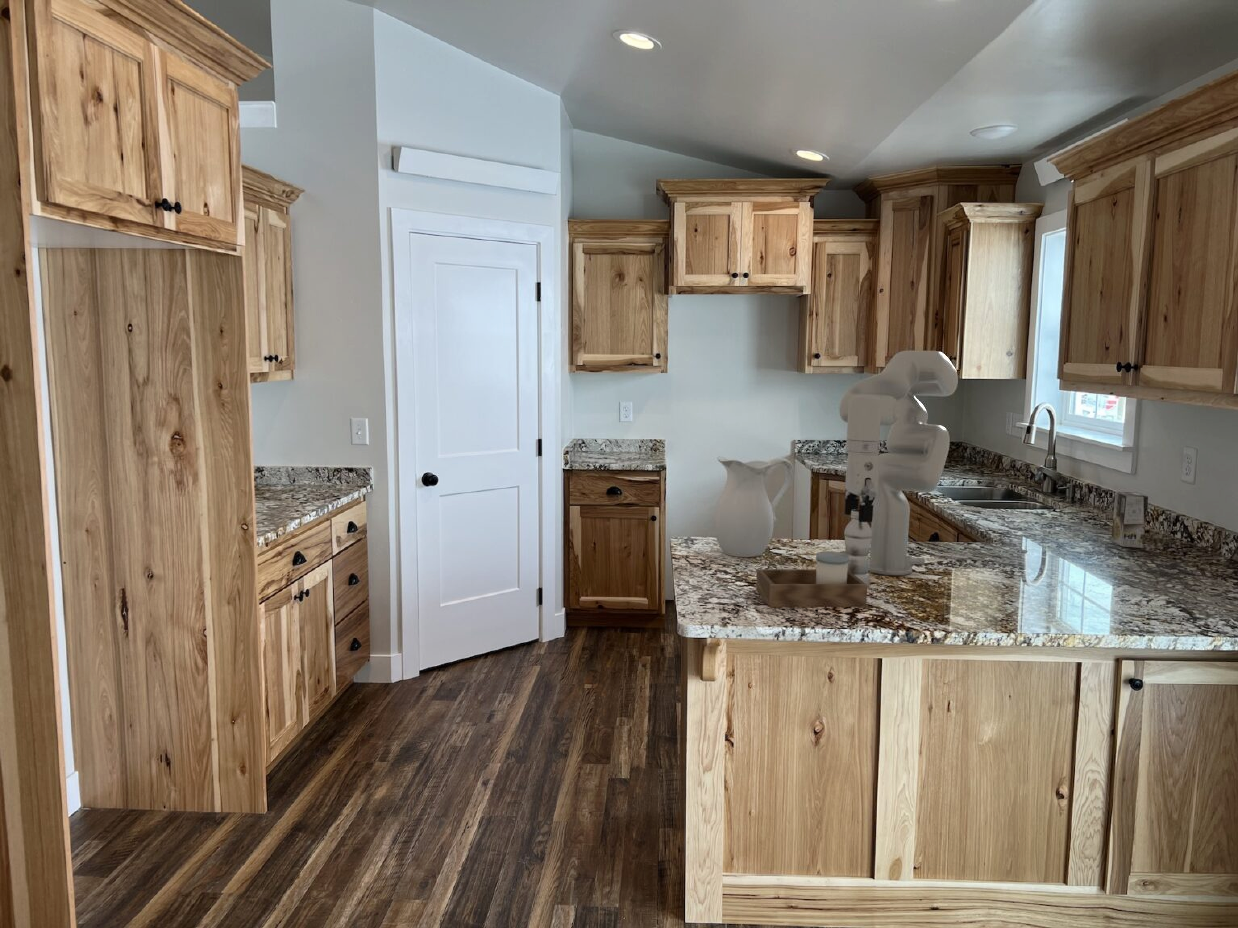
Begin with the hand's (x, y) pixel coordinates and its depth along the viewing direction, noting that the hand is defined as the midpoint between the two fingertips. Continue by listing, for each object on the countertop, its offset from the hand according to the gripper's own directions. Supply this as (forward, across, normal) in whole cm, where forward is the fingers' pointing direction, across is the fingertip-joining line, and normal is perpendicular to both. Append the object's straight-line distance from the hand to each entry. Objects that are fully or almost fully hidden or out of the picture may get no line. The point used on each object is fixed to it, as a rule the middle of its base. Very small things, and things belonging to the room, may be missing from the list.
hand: (858, 518), depth 203 cm
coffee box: (+16, +52, -106) cm, 119 cm away
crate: (+18, -8, +14) cm, 24 cm away
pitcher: (+18, +41, +16) cm, 47 cm away
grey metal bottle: (+18, +1, 0) cm, 18 cm away
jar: (+18, -8, +8) cm, 21 cm away
